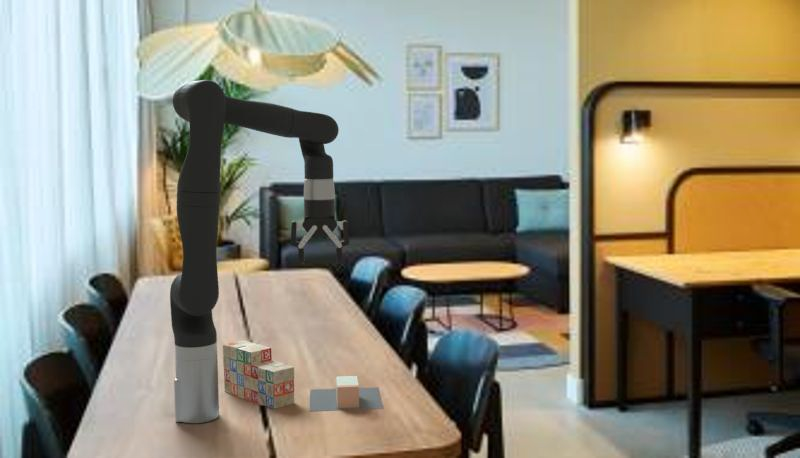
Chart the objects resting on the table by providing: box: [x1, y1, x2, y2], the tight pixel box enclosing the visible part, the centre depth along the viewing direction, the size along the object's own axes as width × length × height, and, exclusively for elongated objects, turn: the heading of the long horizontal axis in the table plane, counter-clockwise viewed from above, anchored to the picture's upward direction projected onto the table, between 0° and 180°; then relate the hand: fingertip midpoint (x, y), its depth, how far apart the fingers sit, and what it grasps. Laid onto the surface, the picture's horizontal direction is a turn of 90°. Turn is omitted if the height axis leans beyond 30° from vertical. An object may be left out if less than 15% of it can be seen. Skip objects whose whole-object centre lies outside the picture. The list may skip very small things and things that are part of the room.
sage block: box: [335, 375, 360, 408], centre depth 200 cm, size 5×5×9 cm
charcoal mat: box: [309, 386, 384, 413], centre depth 203 cm, size 17×17×1 cm
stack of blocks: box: [222, 339, 295, 410], centre depth 205 cm, size 21×6×12 cm, turn 44°
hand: (320, 263), depth 208 cm, fingers open, 8 cm apart
